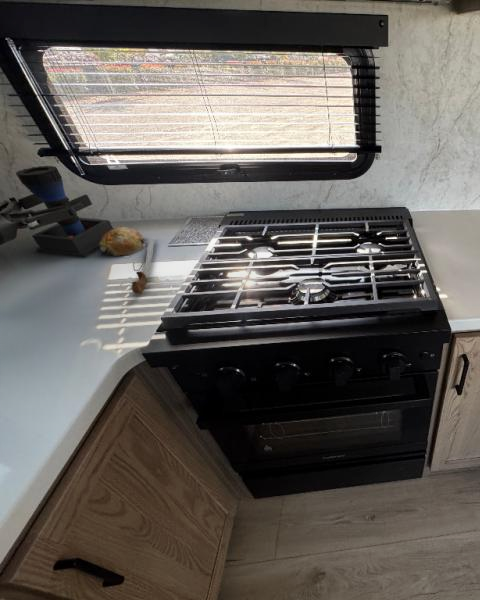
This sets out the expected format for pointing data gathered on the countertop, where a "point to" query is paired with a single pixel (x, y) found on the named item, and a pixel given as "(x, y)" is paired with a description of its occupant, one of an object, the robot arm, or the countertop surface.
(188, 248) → the countertop surface
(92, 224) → the dark grey tray
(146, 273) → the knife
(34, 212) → the robot arm
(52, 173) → the flashlight
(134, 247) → the bread roll
